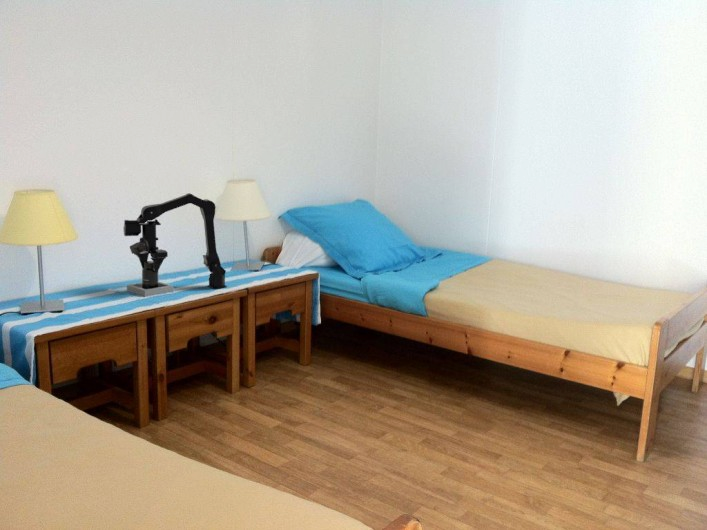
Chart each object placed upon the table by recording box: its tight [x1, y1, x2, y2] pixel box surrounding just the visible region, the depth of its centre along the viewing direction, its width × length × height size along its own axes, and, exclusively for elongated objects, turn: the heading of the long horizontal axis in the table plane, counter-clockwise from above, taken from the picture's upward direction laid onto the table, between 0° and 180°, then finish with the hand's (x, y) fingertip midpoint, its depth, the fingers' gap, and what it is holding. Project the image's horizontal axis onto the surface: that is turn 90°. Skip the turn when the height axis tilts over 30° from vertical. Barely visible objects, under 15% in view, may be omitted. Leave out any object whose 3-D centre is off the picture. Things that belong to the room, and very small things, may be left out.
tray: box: [126, 281, 174, 297], centre depth 299 cm, size 14×14×3 cm
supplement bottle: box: [141, 260, 159, 289], centre depth 298 cm, size 7×7×12 cm
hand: (149, 271), depth 297 cm, fingers open, 9 cm apart
